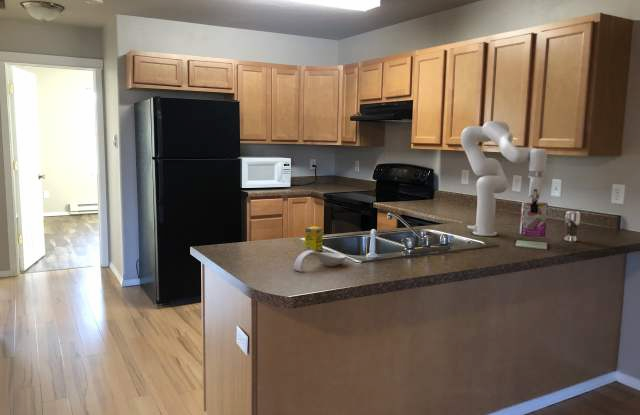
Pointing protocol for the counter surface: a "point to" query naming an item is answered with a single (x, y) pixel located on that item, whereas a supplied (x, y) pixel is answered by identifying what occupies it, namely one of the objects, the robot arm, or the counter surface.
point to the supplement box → (314, 239)
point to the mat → (531, 244)
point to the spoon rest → (324, 258)
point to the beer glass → (571, 225)
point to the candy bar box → (533, 220)
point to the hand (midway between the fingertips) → (534, 211)
